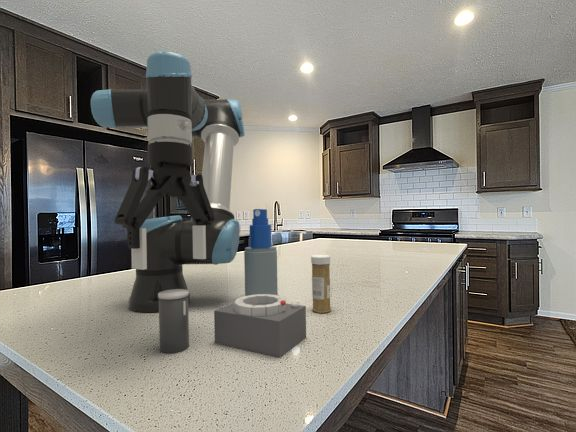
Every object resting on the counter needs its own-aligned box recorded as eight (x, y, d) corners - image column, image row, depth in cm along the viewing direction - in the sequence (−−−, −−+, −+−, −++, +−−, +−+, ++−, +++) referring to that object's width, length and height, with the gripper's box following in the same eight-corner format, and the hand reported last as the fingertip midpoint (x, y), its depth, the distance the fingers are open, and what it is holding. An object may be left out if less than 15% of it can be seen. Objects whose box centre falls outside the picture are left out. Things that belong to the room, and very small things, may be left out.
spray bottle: (269, 306, 87) (267, 208, 86) (239, 303, 90) (237, 209, 90) (282, 297, 95) (281, 208, 95) (254, 295, 98) (253, 209, 98)
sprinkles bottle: (334, 311, 81) (334, 255, 81) (320, 314, 79) (319, 257, 78) (322, 307, 85) (321, 253, 85) (308, 310, 82) (307, 255, 82)
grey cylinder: (152, 350, 60) (151, 294, 60) (175, 340, 64) (174, 288, 64) (174, 356, 57) (173, 297, 57) (196, 345, 62) (195, 290, 62)
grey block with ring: (214, 342, 63) (213, 299, 63) (246, 326, 71) (245, 288, 71) (279, 357, 56) (279, 308, 56) (306, 337, 65) (305, 295, 65)
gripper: (119, 125, 47) (121, 276, 47) (231, 152, 69) (232, 256, 69) (87, 132, 51) (90, 272, 51) (203, 156, 73) (205, 254, 73)
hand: (172, 263), depth 60 cm, fingers open, 13 cm apart
